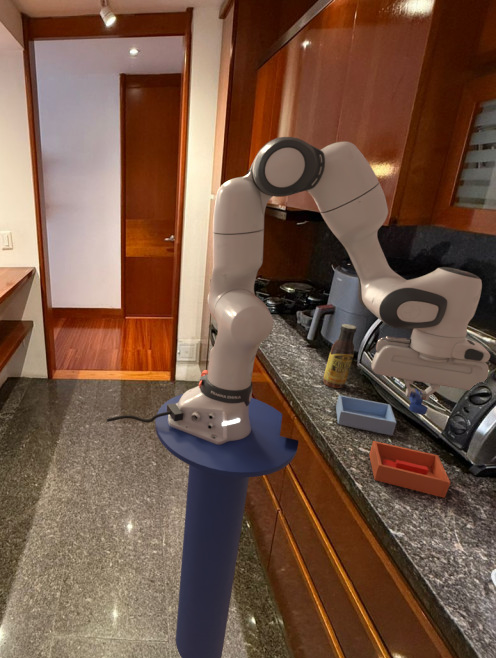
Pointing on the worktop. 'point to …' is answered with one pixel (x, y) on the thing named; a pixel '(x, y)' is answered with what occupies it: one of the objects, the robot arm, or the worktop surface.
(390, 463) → the red spoon
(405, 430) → the worktop surface
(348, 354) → the sauce bottle
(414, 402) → the blue spoon
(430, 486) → the terracotta bin
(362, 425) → the blue bin
